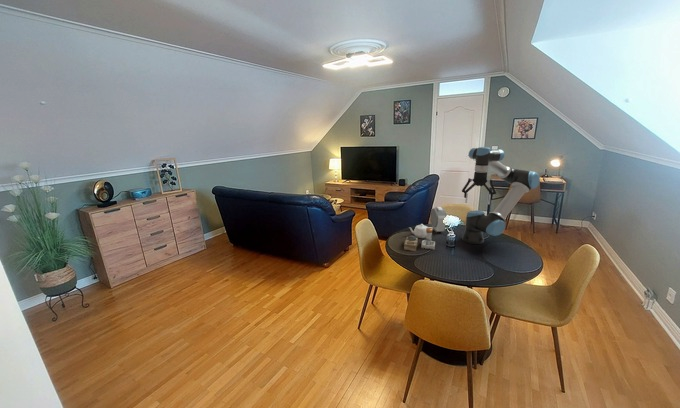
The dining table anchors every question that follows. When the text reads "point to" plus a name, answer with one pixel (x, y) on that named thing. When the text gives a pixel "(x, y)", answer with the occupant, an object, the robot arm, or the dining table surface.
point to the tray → (428, 245)
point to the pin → (429, 236)
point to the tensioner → (411, 243)
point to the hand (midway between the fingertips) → (477, 203)
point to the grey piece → (438, 219)
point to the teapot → (420, 231)
